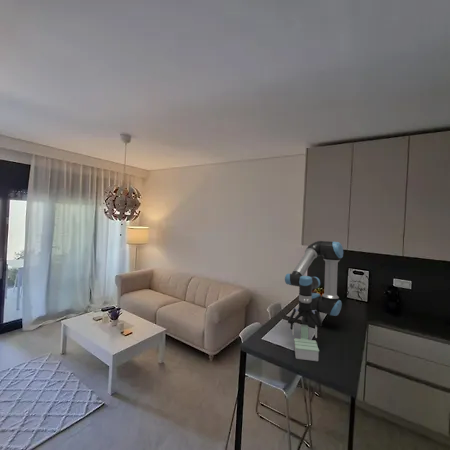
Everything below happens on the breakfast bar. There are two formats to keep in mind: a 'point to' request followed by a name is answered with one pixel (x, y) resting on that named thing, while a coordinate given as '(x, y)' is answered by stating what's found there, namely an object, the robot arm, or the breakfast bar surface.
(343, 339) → the breakfast bar surface
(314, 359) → the tub
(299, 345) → the green stepped block
